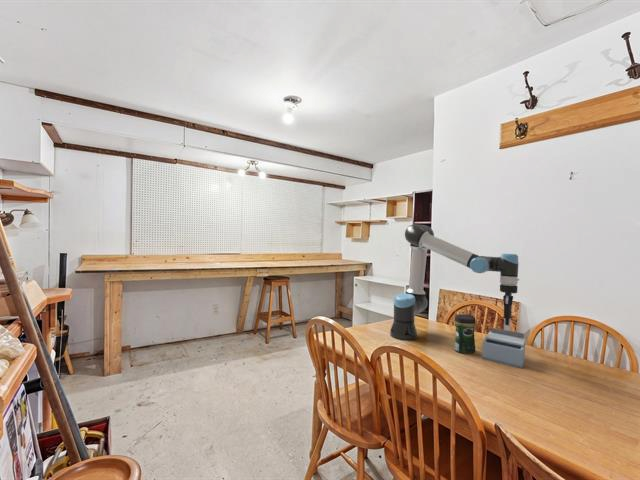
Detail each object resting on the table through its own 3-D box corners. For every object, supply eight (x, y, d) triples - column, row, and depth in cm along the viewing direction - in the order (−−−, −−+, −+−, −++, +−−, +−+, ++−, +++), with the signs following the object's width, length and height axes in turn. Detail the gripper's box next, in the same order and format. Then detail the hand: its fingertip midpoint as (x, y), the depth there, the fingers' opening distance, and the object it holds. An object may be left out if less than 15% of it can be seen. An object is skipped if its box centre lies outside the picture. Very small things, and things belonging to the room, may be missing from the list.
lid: (485, 338, 150) (485, 332, 150) (489, 333, 159) (489, 327, 159) (523, 346, 140) (523, 339, 140) (525, 339, 149) (525, 333, 149)
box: (481, 358, 146) (482, 342, 145) (486, 351, 155) (487, 335, 155) (522, 368, 136) (522, 350, 136) (524, 360, 145) (525, 343, 145)
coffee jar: (469, 348, 159) (471, 312, 159) (477, 354, 151) (478, 316, 151) (451, 348, 159) (452, 312, 159) (458, 353, 151) (459, 316, 151)
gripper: (516, 286, 147) (514, 335, 147) (518, 283, 157) (517, 329, 157) (498, 285, 151) (496, 332, 152) (501, 282, 162) (500, 326, 162)
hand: (507, 331), depth 154 cm, fingers closed
